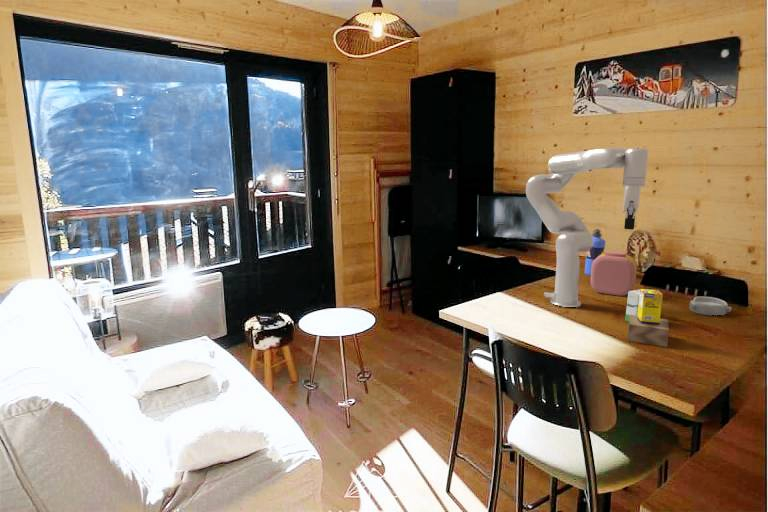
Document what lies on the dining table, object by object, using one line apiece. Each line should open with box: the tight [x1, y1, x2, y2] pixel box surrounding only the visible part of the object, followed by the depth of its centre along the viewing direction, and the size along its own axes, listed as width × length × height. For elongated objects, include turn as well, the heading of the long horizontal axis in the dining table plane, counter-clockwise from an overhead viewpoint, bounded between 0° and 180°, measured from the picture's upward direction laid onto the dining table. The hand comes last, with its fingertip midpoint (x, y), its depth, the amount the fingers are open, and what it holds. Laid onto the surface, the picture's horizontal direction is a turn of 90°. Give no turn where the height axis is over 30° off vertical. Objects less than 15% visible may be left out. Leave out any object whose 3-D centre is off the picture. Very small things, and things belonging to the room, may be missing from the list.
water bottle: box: [584, 228, 606, 277], centre depth 266 cm, size 9×9×25 cm
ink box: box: [624, 289, 640, 323], centre depth 188 cm, size 9×5×12 cm, turn 117°
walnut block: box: [626, 315, 670, 348], centre depth 170 cm, size 12×12×6 cm
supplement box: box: [637, 288, 664, 325], centre depth 169 cm, size 6×6×11 cm
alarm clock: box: [589, 250, 638, 297], centre depth 228 cm, size 18×11×19 cm, turn 58°
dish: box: [688, 296, 733, 317], centre depth 201 cm, size 14×14×5 cm
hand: (629, 227), depth 184 cm, fingers open, 9 cm apart
